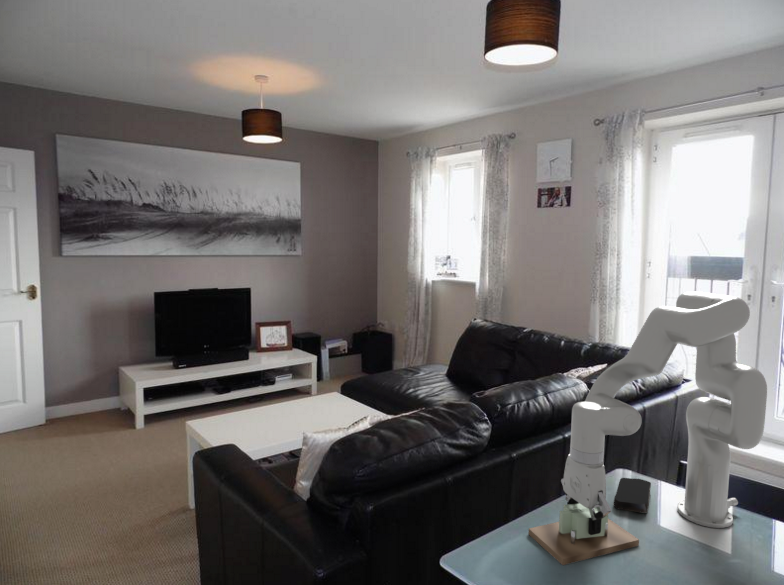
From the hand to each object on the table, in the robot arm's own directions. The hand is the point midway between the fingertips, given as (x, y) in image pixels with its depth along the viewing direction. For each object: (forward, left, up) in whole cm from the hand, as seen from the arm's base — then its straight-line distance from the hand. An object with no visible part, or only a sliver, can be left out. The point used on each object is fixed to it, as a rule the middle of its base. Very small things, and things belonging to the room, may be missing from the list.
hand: (583, 524), depth 126 cm
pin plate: (0, 0, -4) cm, 4 cm away
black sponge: (-26, -11, -5) cm, 29 cm away
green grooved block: (0, 0, -1) cm, 1 cm away
